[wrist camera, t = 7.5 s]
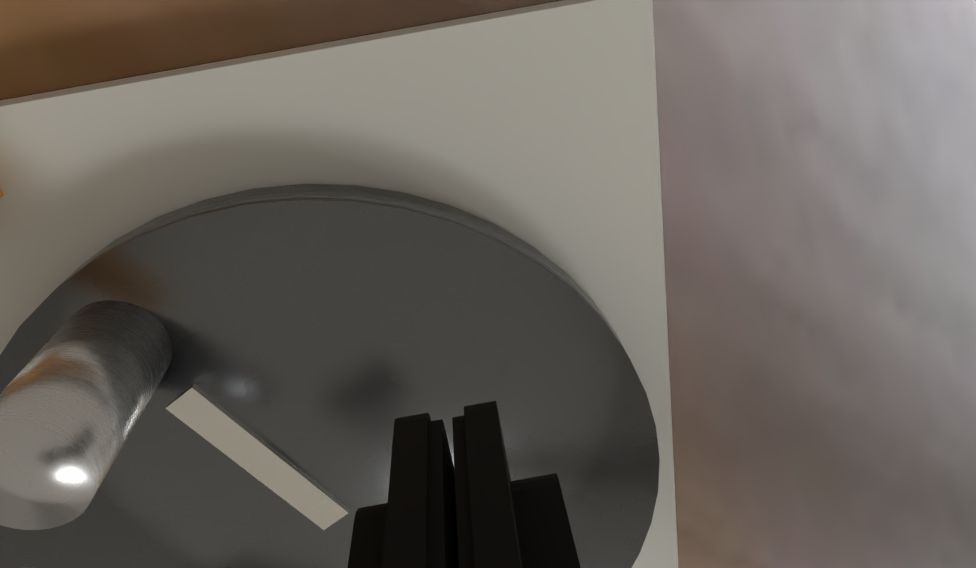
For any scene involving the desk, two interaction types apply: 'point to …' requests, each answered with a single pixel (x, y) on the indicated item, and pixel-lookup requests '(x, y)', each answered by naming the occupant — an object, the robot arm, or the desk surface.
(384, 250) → the dial
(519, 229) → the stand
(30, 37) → the desk surface
